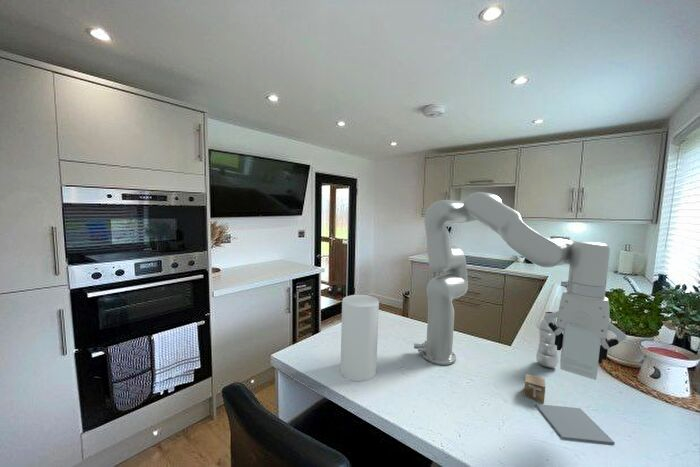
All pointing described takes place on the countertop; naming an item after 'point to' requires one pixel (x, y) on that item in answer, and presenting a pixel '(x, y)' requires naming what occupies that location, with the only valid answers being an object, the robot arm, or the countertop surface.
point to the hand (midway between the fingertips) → (579, 354)
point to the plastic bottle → (547, 345)
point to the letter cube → (534, 388)
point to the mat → (574, 424)
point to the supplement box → (580, 351)
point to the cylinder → (359, 337)
